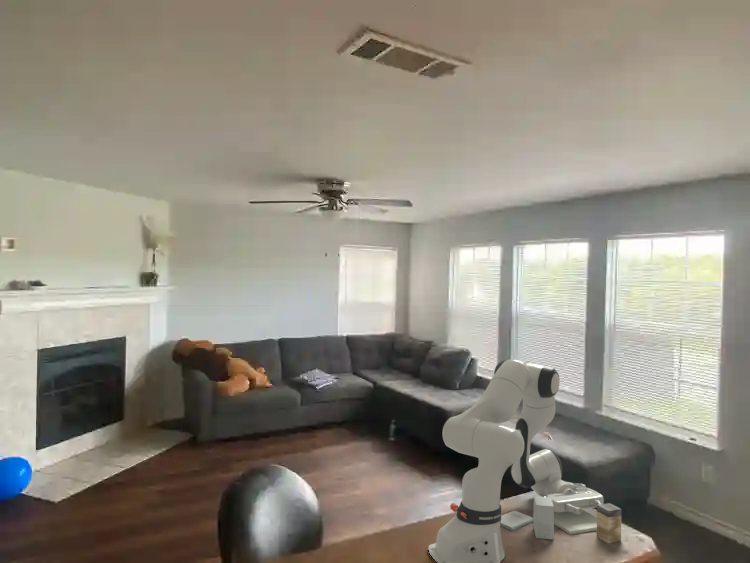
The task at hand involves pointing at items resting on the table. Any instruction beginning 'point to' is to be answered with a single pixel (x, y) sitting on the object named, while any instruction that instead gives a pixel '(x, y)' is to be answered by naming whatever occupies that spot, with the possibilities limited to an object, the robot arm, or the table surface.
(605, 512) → the maple block
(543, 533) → the small box
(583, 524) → the sage board
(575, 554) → the table surface
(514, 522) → the external hard drive
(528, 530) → the table surface
